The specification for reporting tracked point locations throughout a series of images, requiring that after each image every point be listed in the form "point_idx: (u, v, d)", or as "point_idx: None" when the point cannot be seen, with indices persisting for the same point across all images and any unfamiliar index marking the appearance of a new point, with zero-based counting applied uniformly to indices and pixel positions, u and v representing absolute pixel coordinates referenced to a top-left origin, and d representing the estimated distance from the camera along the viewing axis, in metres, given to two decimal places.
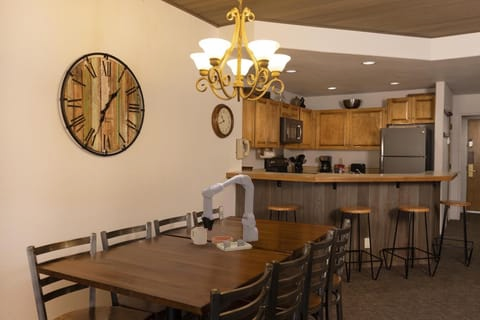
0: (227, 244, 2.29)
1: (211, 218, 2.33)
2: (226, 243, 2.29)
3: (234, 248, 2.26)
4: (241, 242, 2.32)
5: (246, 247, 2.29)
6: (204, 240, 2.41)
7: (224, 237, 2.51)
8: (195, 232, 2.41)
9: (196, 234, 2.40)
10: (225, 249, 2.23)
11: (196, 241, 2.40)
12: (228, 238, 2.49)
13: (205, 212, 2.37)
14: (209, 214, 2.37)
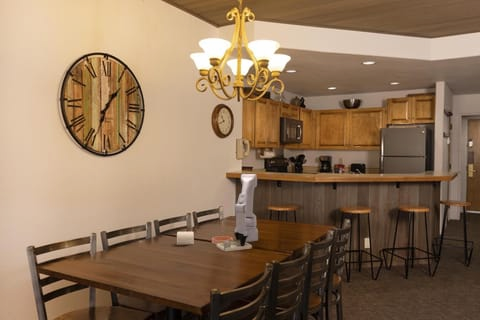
0: (227, 244, 2.29)
1: (245, 234, 2.28)
2: (226, 243, 2.29)
3: (234, 248, 2.26)
4: None
5: (246, 247, 2.29)
6: (188, 237, 2.39)
7: (224, 237, 2.51)
8: (180, 244, 2.40)
9: (182, 244, 2.40)
10: (225, 249, 2.23)
11: None
12: (228, 238, 2.49)
13: (238, 228, 2.32)
14: (242, 230, 2.32)
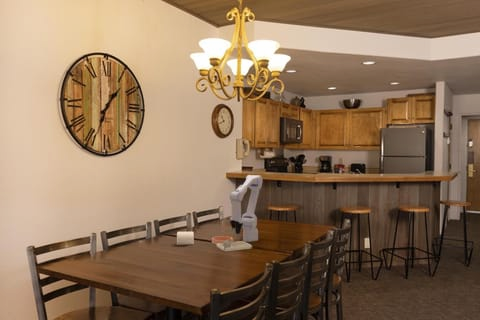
0: (227, 244, 2.29)
1: (240, 222, 2.31)
2: (226, 243, 2.29)
3: (234, 248, 2.26)
4: None
5: (246, 247, 2.29)
6: (188, 237, 2.39)
7: (224, 237, 2.51)
8: (180, 244, 2.40)
9: (182, 244, 2.40)
10: (225, 249, 2.23)
11: None
12: (228, 238, 2.49)
13: (234, 216, 2.35)
14: (238, 218, 2.35)
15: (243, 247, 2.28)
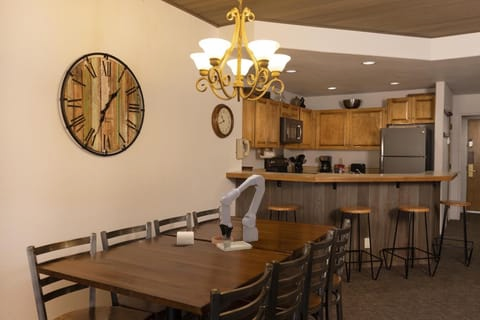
0: (227, 244, 2.29)
1: (230, 226, 2.39)
2: (226, 243, 2.29)
3: (234, 248, 2.26)
4: (226, 238, 2.44)
5: (246, 247, 2.29)
6: (188, 237, 2.39)
7: None
8: (180, 244, 2.40)
9: (182, 244, 2.40)
10: (225, 249, 2.23)
11: None
12: None
13: (223, 220, 2.43)
14: (227, 222, 2.43)
15: (243, 247, 2.28)
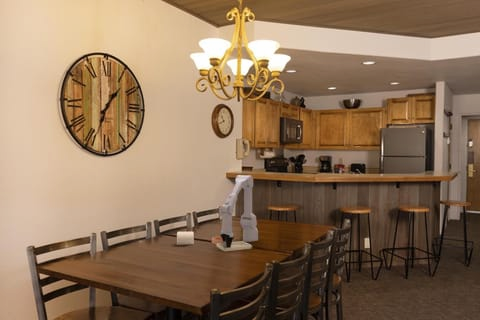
0: None
1: (231, 235, 2.24)
2: None
3: (234, 248, 2.26)
4: None
5: (246, 247, 2.29)
6: (188, 237, 2.39)
7: None
8: (180, 244, 2.40)
9: (182, 244, 2.40)
10: (225, 249, 2.23)
11: None
12: None
13: (224, 229, 2.28)
14: (228, 231, 2.28)
15: (243, 247, 2.28)
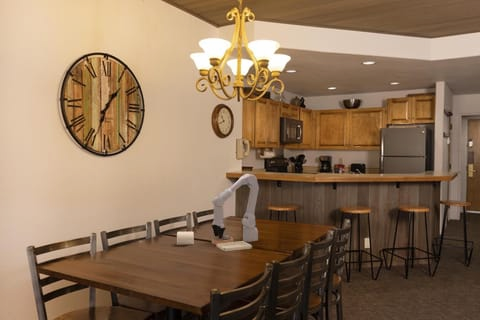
0: (218, 239, 2.42)
1: (222, 226, 2.37)
2: (217, 238, 2.42)
3: (234, 248, 2.26)
4: (226, 238, 2.44)
5: (246, 247, 2.29)
6: (188, 237, 2.39)
7: None
8: (180, 244, 2.40)
9: (182, 244, 2.40)
10: (225, 249, 2.23)
11: None
12: None
13: (216, 220, 2.41)
14: (220, 222, 2.41)
15: (243, 247, 2.28)
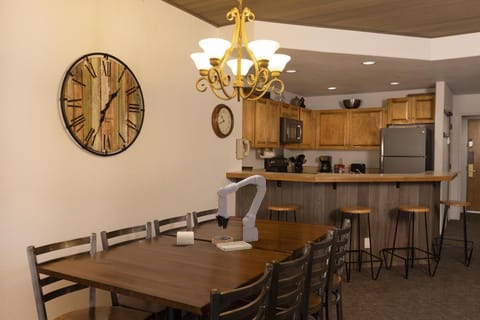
0: (218, 239, 2.42)
1: (226, 216, 2.40)
2: (217, 238, 2.42)
3: (234, 248, 2.26)
4: (226, 238, 2.44)
5: (246, 247, 2.29)
6: (188, 237, 2.39)
7: None
8: (180, 244, 2.40)
9: (182, 244, 2.40)
10: (225, 249, 2.23)
11: None
12: None
13: (220, 211, 2.45)
14: (224, 213, 2.44)
15: (243, 247, 2.28)
